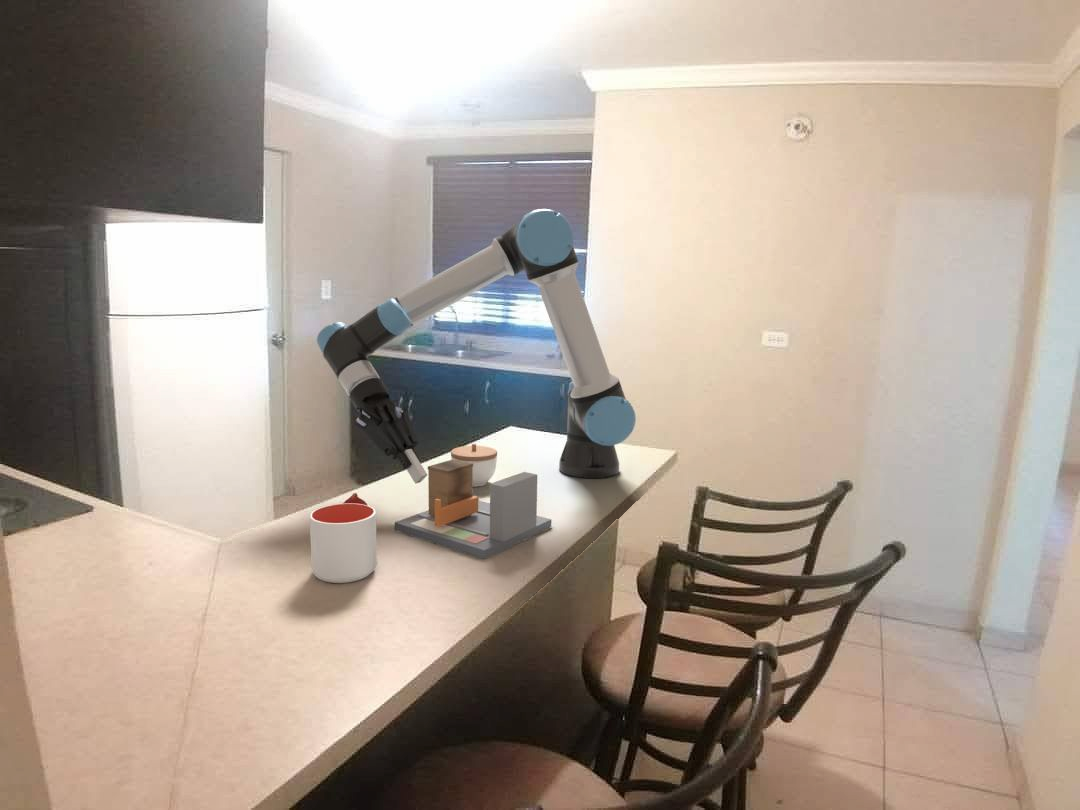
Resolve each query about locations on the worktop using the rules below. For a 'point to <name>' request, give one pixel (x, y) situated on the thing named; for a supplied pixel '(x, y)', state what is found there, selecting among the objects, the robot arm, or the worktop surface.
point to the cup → (343, 542)
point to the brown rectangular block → (449, 483)
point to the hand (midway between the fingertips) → (421, 479)
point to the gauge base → (486, 520)
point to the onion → (355, 500)
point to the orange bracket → (454, 510)
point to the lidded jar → (477, 462)
